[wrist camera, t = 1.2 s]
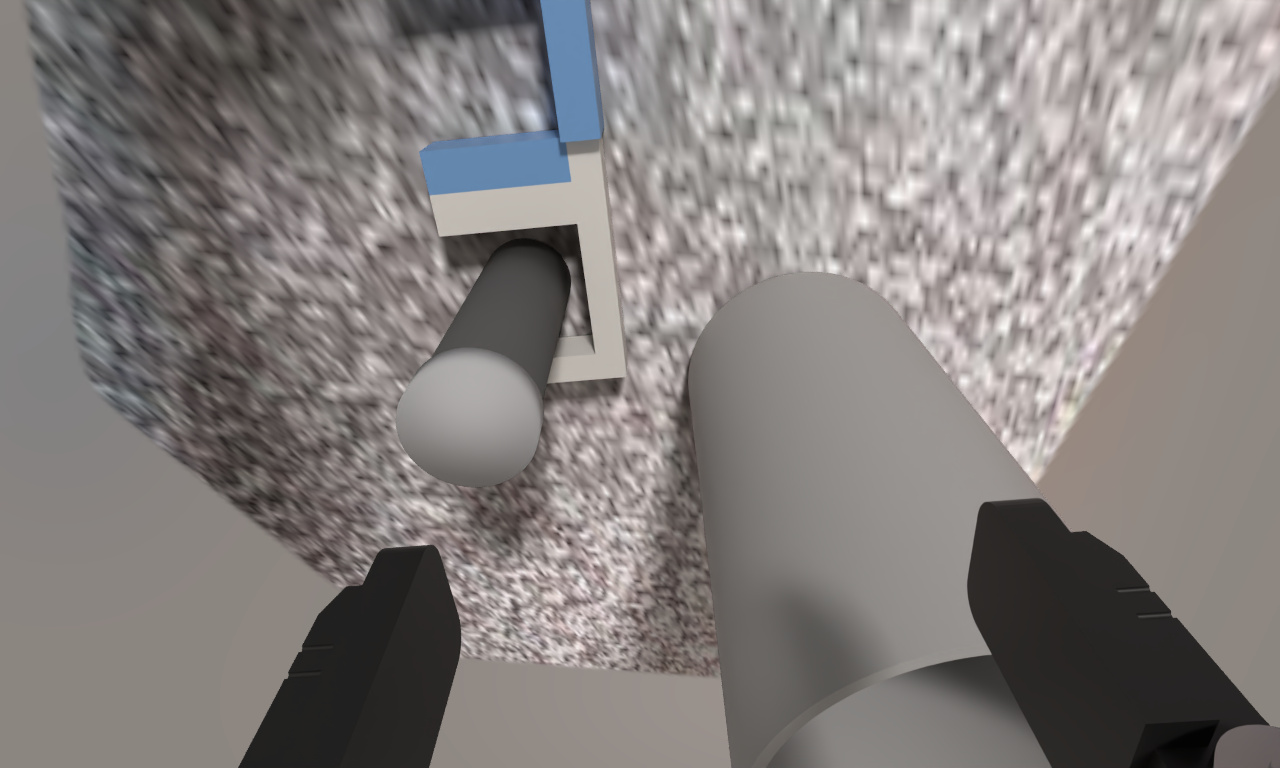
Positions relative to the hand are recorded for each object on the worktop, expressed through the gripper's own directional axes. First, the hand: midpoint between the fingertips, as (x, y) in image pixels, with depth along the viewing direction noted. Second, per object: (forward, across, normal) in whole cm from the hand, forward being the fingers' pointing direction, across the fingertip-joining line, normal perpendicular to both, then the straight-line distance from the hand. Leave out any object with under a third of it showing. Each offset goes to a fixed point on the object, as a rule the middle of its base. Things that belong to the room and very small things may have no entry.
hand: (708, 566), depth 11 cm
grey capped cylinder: (+28, -8, -5) cm, 30 cm away
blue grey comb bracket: (+28, -7, 0) cm, 29 cm away
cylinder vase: (+28, +7, -12) cm, 31 cm away
